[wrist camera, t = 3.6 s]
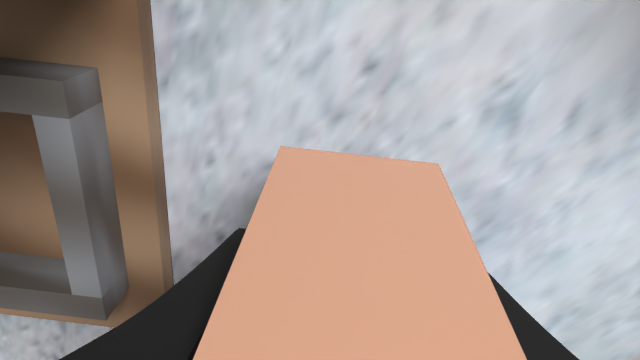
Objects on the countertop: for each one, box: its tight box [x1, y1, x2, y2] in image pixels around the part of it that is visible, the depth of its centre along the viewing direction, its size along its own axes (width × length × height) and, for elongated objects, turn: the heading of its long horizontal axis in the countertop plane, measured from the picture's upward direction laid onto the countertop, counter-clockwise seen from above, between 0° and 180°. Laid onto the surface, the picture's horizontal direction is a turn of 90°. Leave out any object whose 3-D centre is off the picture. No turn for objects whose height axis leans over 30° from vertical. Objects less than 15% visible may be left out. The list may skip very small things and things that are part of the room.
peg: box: [193, 146, 527, 360], centre depth 9 cm, size 4×4×8 cm
